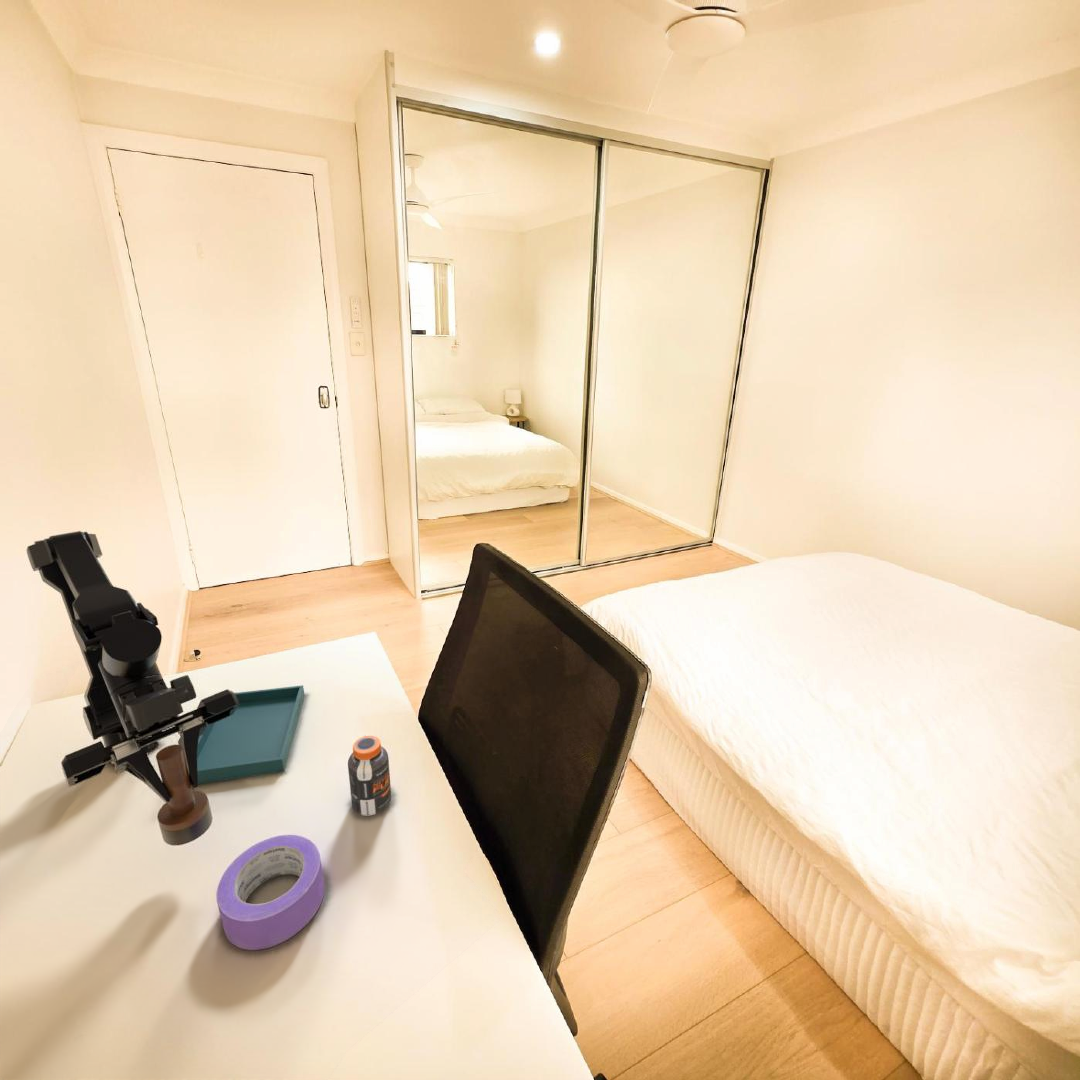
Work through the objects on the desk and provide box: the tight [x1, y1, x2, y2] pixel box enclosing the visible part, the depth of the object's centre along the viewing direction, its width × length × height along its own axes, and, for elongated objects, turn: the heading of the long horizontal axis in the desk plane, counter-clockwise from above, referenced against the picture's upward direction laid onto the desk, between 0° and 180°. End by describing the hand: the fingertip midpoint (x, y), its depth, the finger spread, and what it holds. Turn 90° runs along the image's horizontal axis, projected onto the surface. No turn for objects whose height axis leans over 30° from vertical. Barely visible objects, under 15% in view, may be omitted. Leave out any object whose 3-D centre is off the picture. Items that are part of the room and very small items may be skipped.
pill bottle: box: [347, 735, 392, 817], centre depth 82 cm, size 6×6×11 cm
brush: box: [155, 744, 213, 846], centre depth 69 cm, size 6×6×12 cm
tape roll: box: [216, 834, 326, 951], centre depth 67 cm, size 12×12×5 cm
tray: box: [191, 684, 306, 785], centre depth 96 cm, size 21×15×3 cm
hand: (182, 794), depth 68 cm, fingers closed on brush, 3 cm apart
